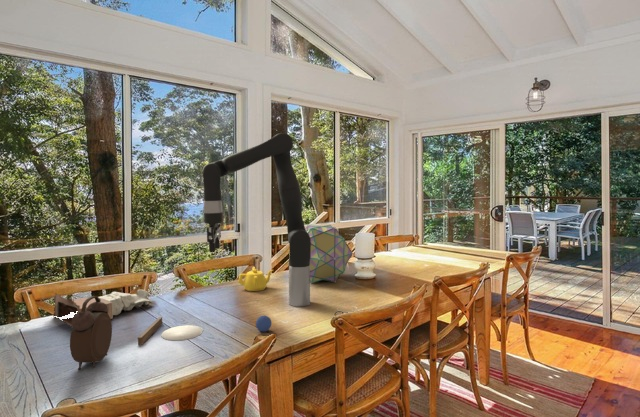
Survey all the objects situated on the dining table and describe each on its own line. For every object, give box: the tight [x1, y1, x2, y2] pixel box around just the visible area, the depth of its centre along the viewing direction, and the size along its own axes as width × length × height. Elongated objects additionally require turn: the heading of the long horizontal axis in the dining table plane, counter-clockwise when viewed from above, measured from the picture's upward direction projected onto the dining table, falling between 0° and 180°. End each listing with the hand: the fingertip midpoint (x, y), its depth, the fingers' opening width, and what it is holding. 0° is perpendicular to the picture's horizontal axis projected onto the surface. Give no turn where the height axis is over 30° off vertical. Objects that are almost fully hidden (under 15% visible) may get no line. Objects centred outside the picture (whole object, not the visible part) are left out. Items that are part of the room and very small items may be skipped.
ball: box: [255, 315, 272, 332], centre depth 144 cm, size 6×6×6 cm
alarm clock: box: [69, 295, 113, 371], centre depth 118 cm, size 15×7×20 cm, turn 5°
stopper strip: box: [137, 316, 163, 346], centre depth 142 cm, size 1×20×2 cm, turn 3°
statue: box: [52, 289, 154, 327], centre depth 163 cm, size 24×35×10 cm
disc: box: [161, 324, 203, 342], centre depth 143 cm, size 14×14×1 cm
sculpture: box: [289, 224, 354, 285], centre depth 219 cm, size 30×30×30 cm
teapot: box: [238, 266, 274, 292], centre depth 202 cm, size 14×13×10 cm
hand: (214, 250), depth 166 cm, fingers open, 8 cm apart
